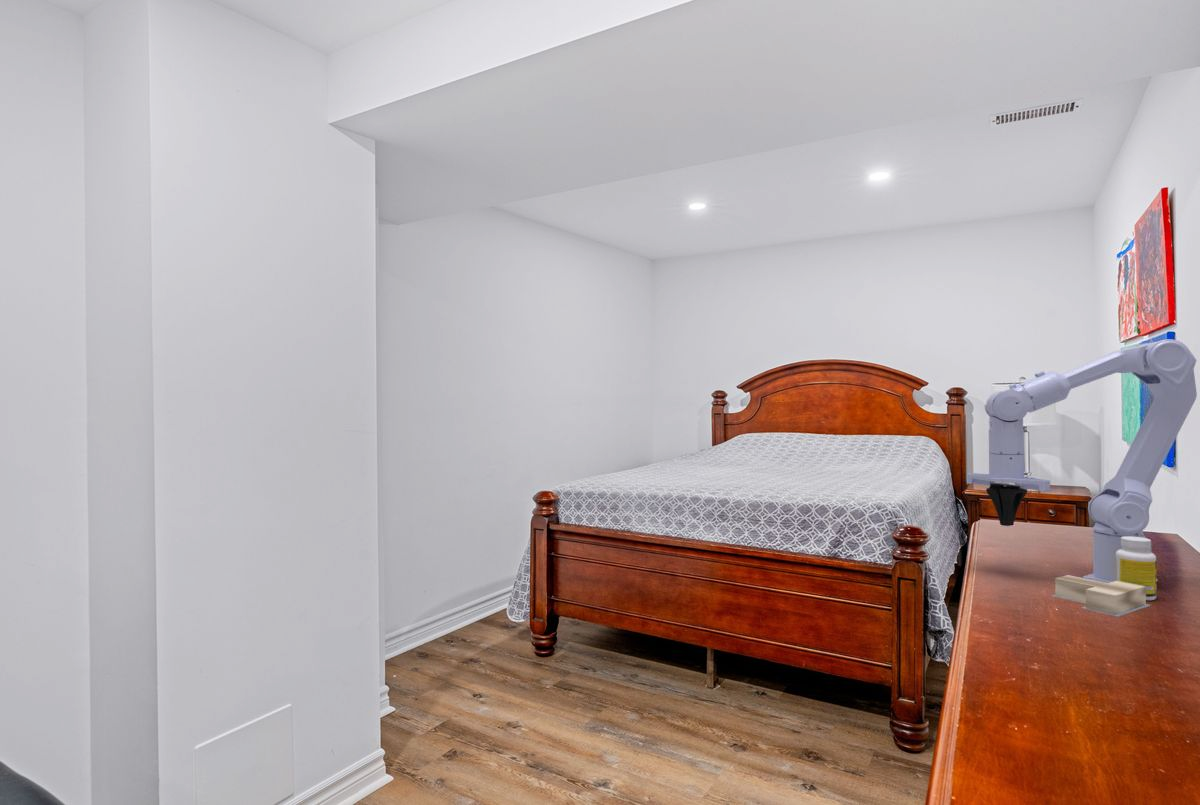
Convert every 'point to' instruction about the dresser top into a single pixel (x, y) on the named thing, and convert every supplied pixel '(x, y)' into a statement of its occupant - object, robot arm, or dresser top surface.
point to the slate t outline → (1107, 613)
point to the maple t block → (1101, 594)
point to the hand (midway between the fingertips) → (1006, 525)
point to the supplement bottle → (1137, 564)
